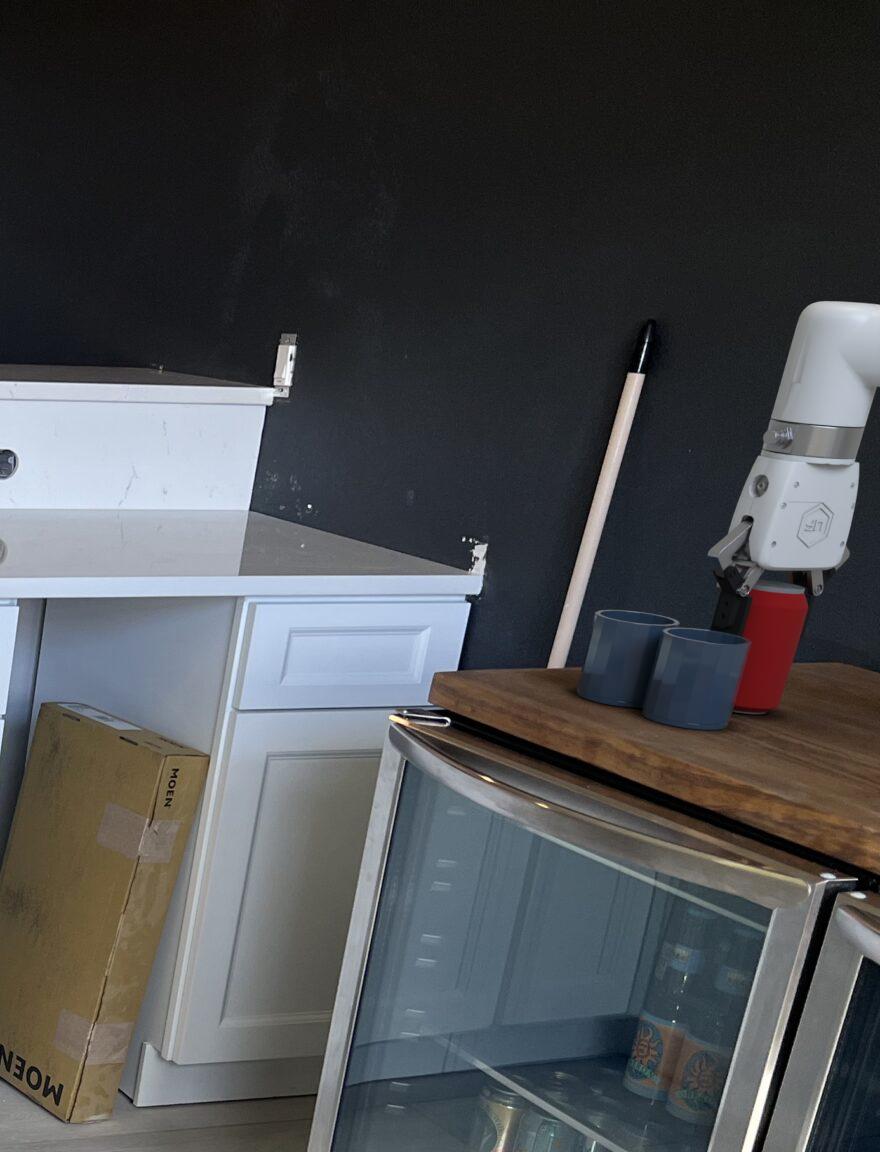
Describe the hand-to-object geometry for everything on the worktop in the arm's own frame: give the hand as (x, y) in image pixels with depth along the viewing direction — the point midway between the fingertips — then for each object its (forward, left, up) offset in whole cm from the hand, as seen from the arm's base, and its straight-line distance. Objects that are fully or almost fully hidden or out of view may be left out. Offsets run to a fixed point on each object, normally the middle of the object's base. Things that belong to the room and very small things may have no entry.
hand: (756, 633), depth 179 cm
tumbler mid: (+6, +9, -7) cm, 13 cm away
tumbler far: (+11, +2, -7) cm, 13 cm away
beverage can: (0, 0, -7) cm, 7 cm away
